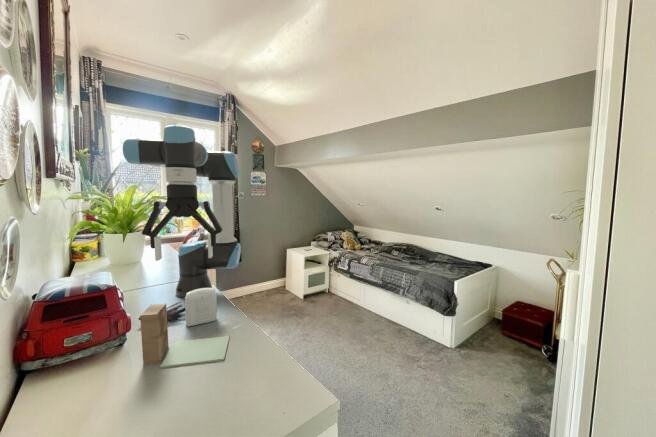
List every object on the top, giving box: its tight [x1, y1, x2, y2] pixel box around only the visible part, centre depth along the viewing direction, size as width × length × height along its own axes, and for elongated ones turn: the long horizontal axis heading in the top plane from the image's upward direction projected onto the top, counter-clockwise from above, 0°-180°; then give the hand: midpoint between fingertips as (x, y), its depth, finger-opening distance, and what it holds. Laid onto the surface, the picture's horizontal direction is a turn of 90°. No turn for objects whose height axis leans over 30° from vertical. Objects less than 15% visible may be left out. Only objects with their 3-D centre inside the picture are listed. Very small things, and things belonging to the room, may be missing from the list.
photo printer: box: [184, 287, 218, 327], centre depth 97 cm, size 10×4×12 cm, turn 123°
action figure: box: [138, 301, 186, 322], centre depth 99 cm, size 8×6×18 cm
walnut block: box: [139, 303, 170, 366], centre depth 76 cm, size 7×4×14 cm, turn 13°
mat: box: [159, 335, 231, 369], centre depth 80 cm, size 12×16×1 cm
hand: (185, 258), depth 78 cm, fingers open, 13 cm apart
